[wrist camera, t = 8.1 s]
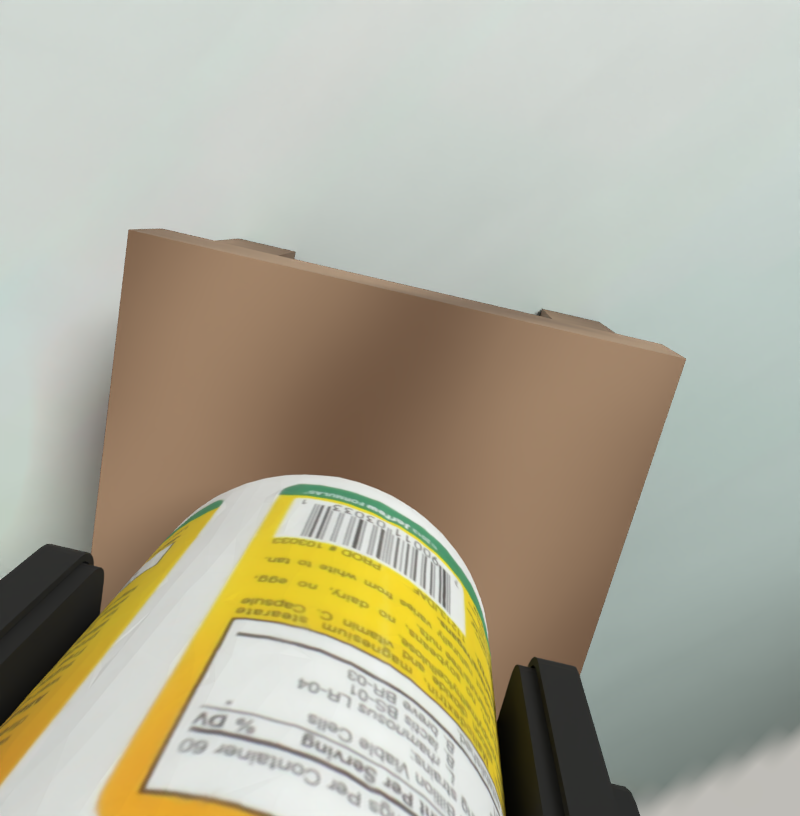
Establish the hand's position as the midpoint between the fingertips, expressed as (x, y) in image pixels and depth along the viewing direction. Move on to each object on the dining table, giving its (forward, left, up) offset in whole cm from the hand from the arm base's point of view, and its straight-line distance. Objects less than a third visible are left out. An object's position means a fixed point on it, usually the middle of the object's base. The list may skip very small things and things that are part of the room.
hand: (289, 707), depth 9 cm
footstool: (0, 0, -11) cm, 11 cm away
